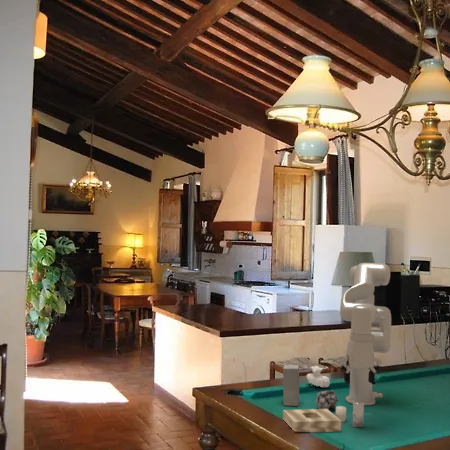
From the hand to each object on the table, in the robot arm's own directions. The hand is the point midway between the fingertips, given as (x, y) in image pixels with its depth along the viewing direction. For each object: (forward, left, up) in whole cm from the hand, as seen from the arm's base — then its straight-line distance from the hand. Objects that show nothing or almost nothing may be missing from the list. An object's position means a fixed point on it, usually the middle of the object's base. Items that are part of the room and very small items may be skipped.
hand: (359, 382), depth 221 cm
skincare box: (+17, -30, -17) cm, 39 cm away
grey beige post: (0, 0, -17) cm, 17 cm away
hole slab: (+18, -2, -17) cm, 24 cm away
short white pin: (+4, -7, -17) cm, 19 cm away
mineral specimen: (+5, -20, -17) cm, 27 cm away
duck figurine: (-4, -54, -17) cm, 57 cm away
